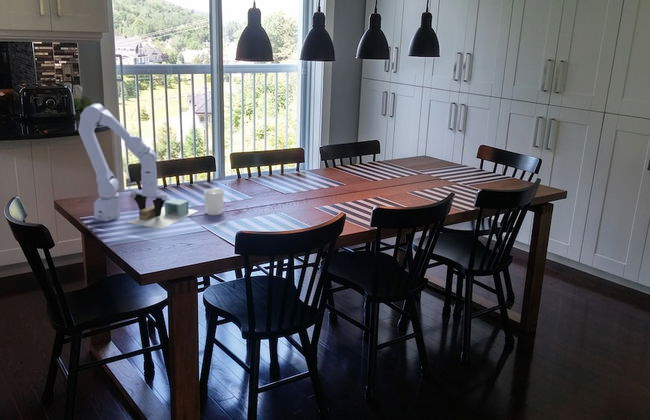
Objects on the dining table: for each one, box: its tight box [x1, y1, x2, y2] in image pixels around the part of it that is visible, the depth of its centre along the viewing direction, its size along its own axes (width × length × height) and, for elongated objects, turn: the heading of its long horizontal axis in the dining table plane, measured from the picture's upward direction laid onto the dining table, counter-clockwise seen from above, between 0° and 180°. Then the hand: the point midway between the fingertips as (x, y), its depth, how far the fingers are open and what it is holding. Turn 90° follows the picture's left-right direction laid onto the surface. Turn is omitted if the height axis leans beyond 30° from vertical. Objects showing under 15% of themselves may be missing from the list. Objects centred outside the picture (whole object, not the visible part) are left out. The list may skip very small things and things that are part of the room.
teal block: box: [164, 197, 189, 217], centre depth 242 cm, size 6×7×5 cm
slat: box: [138, 204, 161, 221], centre depth 237 cm, size 10×3×4 cm, turn 160°
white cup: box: [203, 187, 225, 216], centre depth 246 cm, size 8×8×10 cm
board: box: [127, 206, 199, 230], centre depth 239 cm, size 26×15×1 cm, turn 160°
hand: (150, 214), depth 237 cm, fingers open, 6 cm apart
